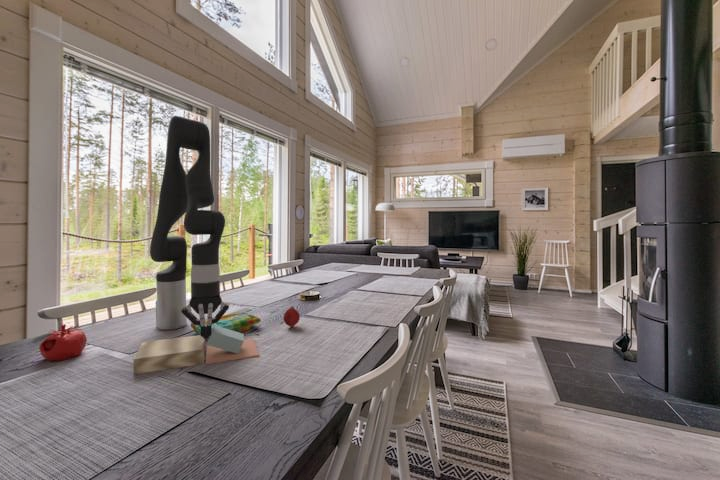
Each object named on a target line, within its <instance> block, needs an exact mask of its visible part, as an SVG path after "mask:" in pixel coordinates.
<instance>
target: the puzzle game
mask: <svg viewBox="0 0 720 480" xmlns="http://www.w3.org/2000/svg"><path fill="white" fill-rule="evenodd" d="M214 317H215V316H212V318H214ZM260 322H261V318H260V317H258V316H255V315H254V314H252V313H250V312H248V311H242V312H237V313H236V312H235V313H232V314H231V313H230V314H226V315H225V314H224V315H223V316H222V317H221V319H220V320H219V321H218V322H217V323H214V324H212V325H211V332H212V330H213V328H214V325H216V326H220V327H223V328H226V329H229V330H232V331H236V332H239V333H242V332H244V331H248V330H250V329H251V328H252V326H253V325H256V324H259V323H260ZM205 324H207V319H206V318H205ZM190 327H191V328H192V330H193V331H194V332H195V334H196V335H201V327H200V326H199V325H194V324H193V323H192V322H190ZM208 339H209V338H206V339H205V341H208Z"/></svg>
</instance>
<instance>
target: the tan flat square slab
mask: <svg viewBox="0 0 720 480" xmlns="http://www.w3.org/2000/svg"><path fill="white" fill-rule="evenodd" d="M205 351H206V352H205V353H206V354H205V365H206V366H207V365H212V364H218V363H224V362H230V361H237V360H244V359H250V358H257V357H259V355H260V354H259V351H258V348H257V344H256V342H255V338H253V337H252V338H244V342H243V344H242V346H241V348H240V351H239V353H238V354H237V353H233V352H230V351H227V350H223V349H220V348H216V347H213V346H209V345H207V344H206V349H205Z"/></svg>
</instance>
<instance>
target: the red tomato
mask: <svg viewBox="0 0 720 480" xmlns="http://www.w3.org/2000/svg"><path fill="white" fill-rule="evenodd" d="M66 327H67V326H66V324H62V325H60V328H61V330H54V329H52V330H49V331H48V333H49V332H51V333H49V334H48V335H45V337H46V338H45V339H44V340H43V341H41V342H40V344H39V347H38V351H39V352H40V355H41V356H42V358H44V359H45V360H47V361H50V362H51V361H53V362H54V361H64V360H68V359H71V358H75V357H77V356H79V355H80V354H81V353H82V352H83V351H84V349H86V344H87V342H88V339H87V335H86V333H85V332H84V331H82V328H81V329H80V328H76V329H72V328H75V326H69V327H68V328H67V329H66ZM52 332H53V333H52Z"/></svg>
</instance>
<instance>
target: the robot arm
mask: <svg viewBox="0 0 720 480" xmlns="http://www.w3.org/2000/svg"><path fill="white" fill-rule="evenodd" d="M209 129H210V128H209V127H208V125H207V124H206V123H204V122H202V121H198V120H195V119H192V118H187V117H183V116H179V115H172V117H171V118H170V120H169V124H168V129H167V136H166V138H167V140H166V153H165V161H164V162H165V163H164V169H163V176H162V180H161V185H160V192H159V196H158V197H159V199H158V207H157V208H158V209H157V215H156V220H155V225H154V229H153V233H152V236H151V241H150V246H149V254H150V255H149V256H150V258H151V260H152V261H153V262H155V263H163V262H164V263H165V262H166V263H167V262H172V263H171V265H169V266H168V267H167V268H165V269H162V270H160V271H159V272H157V273H156V274H155V275H156V276H155V277H156V284H155V285H156V301H155V326H156V327H157V328H158V330H165V331H166V330H168V331H169V330H176V329H179V328H183V327H185V326H187V324H188V323H187V321H188V320H189V321H190V323H193V324H194V325H199V326H200V327H201V337H203V339H206V338H209V336H211V325H212V324H214V323H217V322H218V321H219V320H220V319H221V317H222V316H225V314H226V312H227V311H228V310H229V309H230V306H229V304H228V303H226V302H224V301H223V300H222V297H221V273H220V264H219V261H220V260H219V258H220V257H219V256H220V255H219V253H220V252H219V249H220V244H221V240H222V236H223V233H224V230H225V226H226V218H225V216H224V214H223V213H222V211H220V210H216V209H215V210H213V209H212V210H211V209H210V210H209V209H204V208H208V207H210V206H212V205H213V204H214V203H215V197H214V189H213V183H212V177H211V175H212V174H211V135H210V133H211V132H210V130H209ZM181 148H182V149H186V150H191V151H197V153H198V154H197V158H196V160H195V162H194V163H193V165H192V166H190V168H189V170H188V171H187V172H186V170H185V168H184V166H183V164H182V160H181V158H180V153H181V152H180V151H181ZM184 215H185V216H184ZM183 216H184V218H183V219H184V220H183V227H184V230H185V231H186V233H188V234H189V235H192V236H195V235H196V236H200V235H203V236H204V235H207V236H208V235H209V237H208V238H207V240H205V241H202V242H198V243H195V244H192V246H191V268H190V295H191V296H190V300H189V303H188V304H187V281H186V279H187V277H186V276H187V261H188V260H187V259H188V258H187V257H188V243H187V240H186V238H185V237H184V236H182V235H169V234H170V231H171V229H172V228H173V226H174V225H175V224H176V223H177V222H178V220H180V219H181V218H182V217H183ZM218 308H219V311H218V312H217V313H216V315H215V316H213V313H215V312H216V310H217V309H218ZM192 309H193V311H194V312H195V313H196V314H197V315H198V316H199V319H198V317H197V316H196V315H195V314H194V313H192ZM206 315H207V317H206ZM212 317H214V318H212ZM206 318H207V324H205V319H206ZM187 319H188V320H187Z"/></svg>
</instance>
